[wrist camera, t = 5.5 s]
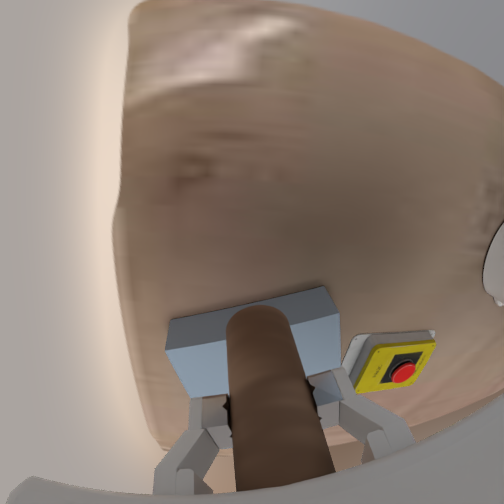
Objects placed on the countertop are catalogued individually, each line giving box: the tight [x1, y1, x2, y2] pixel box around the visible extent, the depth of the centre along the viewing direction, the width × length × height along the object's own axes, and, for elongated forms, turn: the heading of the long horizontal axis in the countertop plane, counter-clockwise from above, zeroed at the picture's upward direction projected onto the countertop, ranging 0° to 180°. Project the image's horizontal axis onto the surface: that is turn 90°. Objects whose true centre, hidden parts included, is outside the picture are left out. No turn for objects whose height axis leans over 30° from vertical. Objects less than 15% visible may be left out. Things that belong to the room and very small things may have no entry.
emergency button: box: [341, 330, 436, 394], centre depth 37 cm, size 9×4×15 cm
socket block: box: [165, 286, 341, 449], centre depth 34 cm, size 17×21×5 cm
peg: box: [226, 305, 336, 492], centre depth 11 cm, size 3×3×9 cm
